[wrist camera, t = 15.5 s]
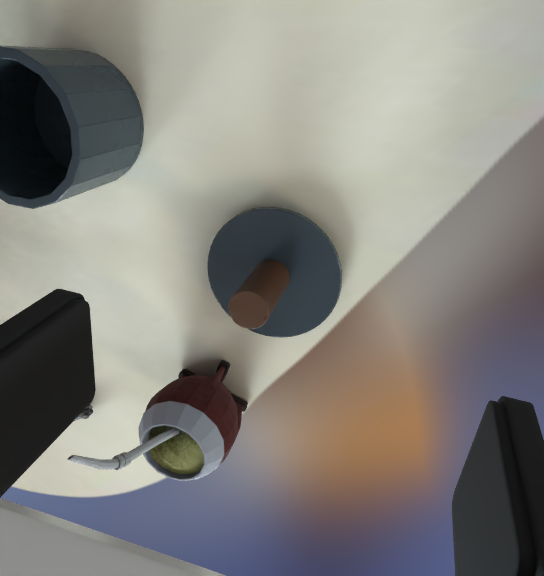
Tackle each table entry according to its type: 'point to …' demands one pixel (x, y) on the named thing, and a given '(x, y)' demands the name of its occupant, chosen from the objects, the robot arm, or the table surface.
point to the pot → (63, 124)
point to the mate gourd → (184, 428)
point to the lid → (274, 272)
